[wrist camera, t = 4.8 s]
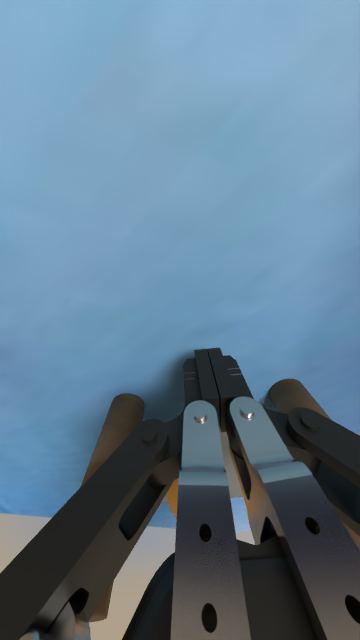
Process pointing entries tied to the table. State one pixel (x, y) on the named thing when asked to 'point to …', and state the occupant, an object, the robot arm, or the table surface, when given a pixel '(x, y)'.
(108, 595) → the post
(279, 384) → the post
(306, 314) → the table surface
